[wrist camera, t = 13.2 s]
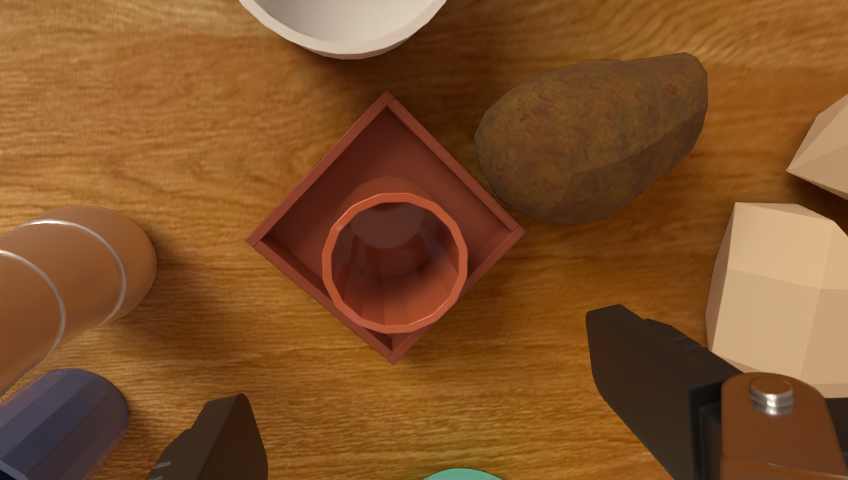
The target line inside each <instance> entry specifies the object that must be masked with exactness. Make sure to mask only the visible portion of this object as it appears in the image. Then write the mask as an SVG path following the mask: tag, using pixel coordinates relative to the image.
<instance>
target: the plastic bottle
mask: <svg viewBox="0 0 848 480" xmlns="http://www.w3.org/2000/svg"><path fill="white" fill-rule="evenodd" d="M156 271H157V259H156V254H155V250H154V248H153V245H152V243H151V241H150V239H149V238H148V236H147V235H146V234H145V232H144V231H143V230H142V229H141V228H140V227H139V226H138V225H137V224H136V223H135V222H133V221H132V220H130V219H129V218H128V217H126V216H124V215H122V214H120V213H118V212H116V211H113V210H110V209H106V208H102V207H93V206H69V207H59V208H56V209H52V210H48V211H46V212H44V213H42V214H40V215H38V216H36V217H34V218H32V219H30V220H28V221H26V222H24V223H22V224H20V225H19V226H17V227H16V228H14V229H13V230H11V231H9V232H7V233H4V234H2V235H0V398H1V397H2V396H3V395H4V394H5V393H6V392H7V391H8V390H9V389H10V387H11V386H12V385H13V384H14V383H15V382H16V381H17V380H18V379H19V378H20V377H22V376H23V375H24V374H25V373H27V372H28V371H29V370H30V369H32V368H33V367H34V366H35V365H37V364H38V363H39V362H40V361H42V360H43V359H44V358H45V357H46V356H48V355H49V354H50V353H52V352H53V351H54V350H55V349H57V348H58V347H60V346H62V345H64V344H66V343H67V342H69V341H71V340H73V339H75V338H76V337H78V336H80V335H82V334H83V333H85V332H87V331H89V330H92V329H95V328H98V327H101V326H104V325H106V324H108V323H110V322H112V321H114V320H116V319H118V318H120V317H122V316H124V315H126V314H128V313H129V312H130V311H132V310H133V309H134V308H135V307H137V305H138V304H139V303H140V302H141V301H142V299H143V298H144V297H145V295H146V294H147V292H148V291H149V289H150V288H151V286H152V284H153V282H154V280H155V276H156Z"/></svg>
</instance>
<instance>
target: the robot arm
mask: <svg viewBox="0 0 848 480" xmlns="http://www.w3.org/2000/svg"><path fill="white" fill-rule="evenodd" d="M586 328H587V336H588V344H589V351H590V359H591V367H592V374H593V378H594V381H595V384H596V386H597V389H598V391H599V393H600V395H601V396H602V398H603V399H604V400H605V401H606V402H607V403H608V405H609V406H610V407H611V408H612V409H613V410H614V411H615V413H616V414H617V415H618V416H619V417H620V418H621V419H622V420H623V422H624V423H625V424H626V425H627V426H628V427H629V428H630V430H631V431H632V432H633V433H634V434H635V435H636V436H637V438H638V439H639V440H640V441H641V442H642V443H643V444H644V445H645V447H646V448H647V449H648V450H649V451H650V452H651V453H652V455H653V456H654V457H655V458H656V459H657V460H658V461H659V463H660V464H661V465H662V466H663V467H664V468H665V469H666V470H667V472H668V473H669V474H670V475H671V476H672V477H673V478H674V480H848V397H842V398H824V396H823V395H822V394H821V393H820V392H819V391H818V390H817V389H816V388H814V387H813V386H811V385H809V384H807V383H805V382H803V381H801V380H798V379H796V378H793V377H789V376H786V375H781V374H776V373H768V372H749V373H744V372H742V371H741V370H739V369H738V368H736V367H734V366H733V365H731V364H730V363H728V362H727V361H725V360H724V359H722V358H720V357H719V356H717V355H716V354H714V353H713V352H711V351H710V350H708V349H706V348H705V347H701V345H700V344H699V343H697V342H696V341H694V340H692V339H691V338H687V336H686V335H685V334H683V333H682V332H680V331H678V330H677V329H675V328H674V327H672V326H671V325H667V324H664V323H661V322H658V321H654V320H651V319H644V320H643V319H642V318H640V317H639V316H637V315H636V314H634V313H633V312H631V311H630V310H628V309H627V308H626V307H624V306H623V305H621V304H617V305H613V306H608V307H604V308H600V309H596V310H592V311H588V312H587V314H586ZM267 479H268V462H267V456H266V452H265V449H264V445H263V442H262V439H261V436H260V433H259V430H258V427H257V424H256V421H255V418H254V415H253V412H252V409H251V406H250V403H249V400H248V398H247V397H246V396H245V395H244V394H242V393H241V394H237V395H233V396H229V397H225V398H220V399H216V400H212V401H208V402H207V403H206V404H205V406H204V408H203V409H202V411H201V413H200V414H199V416H198V418H197V419H196V421H195V423H194V424H193V426H192V428H191V429H187V430H185V431H184V432H182V433H181V434H180V435H179V436H178V437H177V438H176V439H175V440H174V441H173V442H172V443H170V444H169V445H168V446H167V447H166V448H165V450H164V451H163V453H162V455H161V456H160V458H159V459H158V461H157V462H156V464H155V469H152V470H151V472H150V473H149V475H148V477H147V478H146V480H267Z"/></svg>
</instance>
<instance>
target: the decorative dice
mask: <svg viewBox="0 0 848 480" xmlns="http://www.w3.org/2000/svg"><path fill="white" fill-rule="evenodd" d="M424 480H501V479H499V478H497V477H495V476H493V475H491V474H488V473H485V472H482V471H478V470H473V469H463V468H457V469H449V470H444V471H441V472H438V473H435V474H433V475H431V476H429V477H427V478H425V479H424Z"/></svg>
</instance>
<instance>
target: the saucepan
mask: <svg viewBox="0 0 848 480" xmlns="http://www.w3.org/2000/svg"><path fill="white" fill-rule="evenodd" d="M239 1H240V2H241V4H242V5H243V6H244V7H245V8H246V9H247V10H248V11H249V12H251V13H252V14H253V15H254V16H255V17H256V18H257V19H258V20H259V21H260V22H261V23H262V24H263V25H265V26H266V27H268V28H270V29H271V30H273V31H274V32H276V33H277V34H279V35H281V36H282V37H284V38H285V39H287V40H289V41H292V42H294V43H297V44H298V45H300V46H301V47H303V48H304V49H307V50H309V51H312V52H314V53H317V54H319V55H322V56H326V57H332V58H337V59H343V60H345V59H365V58H369V57H373V56H377V55H381V54H383V53H385V52H388V51H390V50H392V49H394V48H396V47H398V46H399V45H401V44H402V43H403V42H405V41H406V40H407V39H409V38H410V37H411V36H413V35H414V34H415V33H416V31H417V30H418V29H420V28H421V27H422V26H424V25H425V24H426V23H428V22H429V21H430V19H431V18H432V17H433V16H434V15H435V14H436V13H437V11H438V10H439V9H440V8H441V7H442V6H443V5H444V3H445V2H446V0H239Z"/></svg>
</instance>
